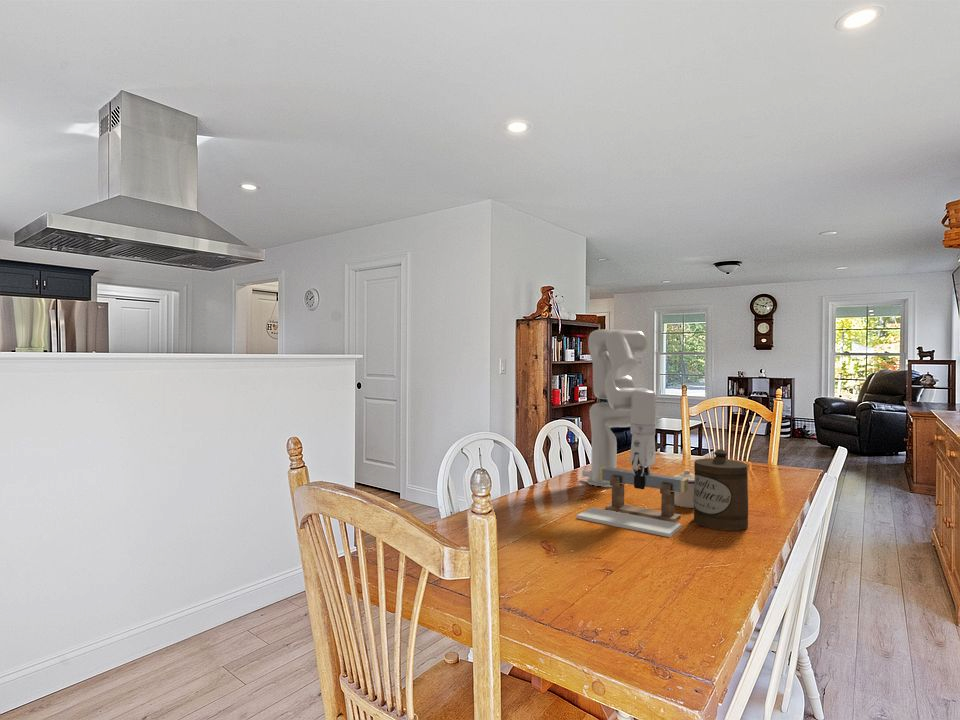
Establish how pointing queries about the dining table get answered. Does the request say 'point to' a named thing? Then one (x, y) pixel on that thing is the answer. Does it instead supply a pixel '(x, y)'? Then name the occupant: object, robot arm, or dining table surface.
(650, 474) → the rail
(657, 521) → the mat
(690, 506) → the teacup with lid
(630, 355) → the robot arm
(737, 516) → the wooden container
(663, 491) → the rack
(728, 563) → the dining table surface
